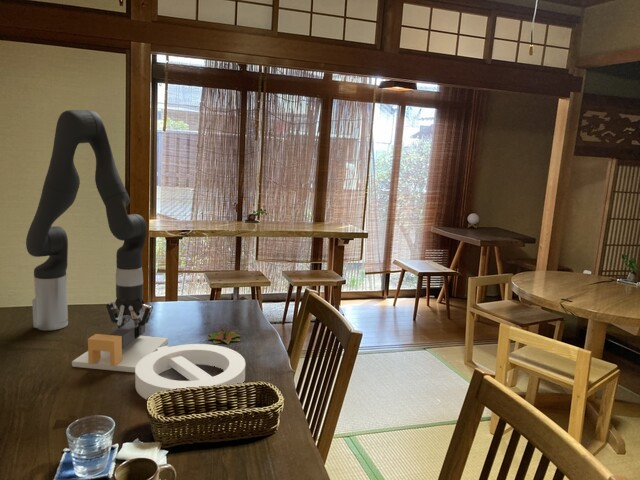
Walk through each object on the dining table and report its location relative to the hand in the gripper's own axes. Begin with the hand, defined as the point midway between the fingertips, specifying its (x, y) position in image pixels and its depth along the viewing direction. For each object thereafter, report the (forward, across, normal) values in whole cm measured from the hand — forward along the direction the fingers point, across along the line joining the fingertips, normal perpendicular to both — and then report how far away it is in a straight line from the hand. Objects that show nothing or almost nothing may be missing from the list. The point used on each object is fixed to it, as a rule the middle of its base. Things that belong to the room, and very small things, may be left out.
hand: (130, 336), depth 148 cm
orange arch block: (+2, 0, -14) cm, 14 cm away
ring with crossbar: (+4, +25, -16) cm, 30 cm away
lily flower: (+4, +25, +14) cm, 29 cm away
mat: (+4, 0, -4) cm, 6 cm away
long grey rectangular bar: (+1, 0, -1) cm, 1 cm away
